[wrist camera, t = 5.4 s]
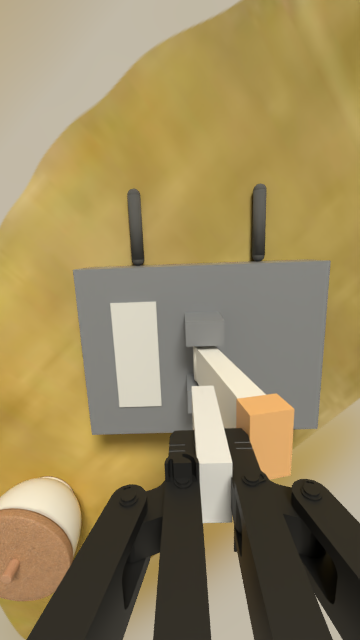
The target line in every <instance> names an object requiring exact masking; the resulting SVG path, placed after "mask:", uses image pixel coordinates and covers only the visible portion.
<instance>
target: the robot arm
mask: <svg viewBox="0 0 360 640" xmlns="http://www.w3.org/2000/svg"><path fill="white" fill-rule="evenodd" d="M192 420H193V430H178V431H174V432H173V433H172V435H171V436H170V443H169V457H168V458H167V459H166V461H165V481H164V482H163V484H162V485H160V486H159V487H157V488H155V489H152V490H149V491H145V490H144V489H143V488H142V487H141V486H138V485H126V486H122V487H121V488H119V489H118V490H116V491H115V492H114V494H113V495H112V496H111V498H110V500H109V501H108V503H107V505H106V506H105V508H104V510H103V511H102V513H101V515H100V516H99V518H98V520H97V522H96V523H95V525H94V527H93V528H92V530H91V532H90V533H89V535H88V537H87V538H86V540H85V542H84V544H83V545H82V547H81V549H80V550H79V552H78V554H77V555H76V557H75V559H74V560H73V562H72V564H71V565H70V567H69V569H68V571H67V572H66V574H65V576H64V577H63V579H62V581H61V582H60V584H59V586H58V587H57V589H56V591H55V593H54V594H53V596H52V598H51V599H50V601H49V603H48V604H47V606H46V608H45V609H44V611H43V613H42V615H41V616H40V618H39V620H38V621H37V623H36V625H35V626H34V628H33V630H32V631H31V633H30V635H29V636H28V638H27V640H123V637H124V634H125V631H126V628H127V625H128V622H129V619H130V616H131V613H132V611H133V607H134V605H135V602H136V599H137V596H138V593H139V590H140V587H141V584H142V582H143V579H144V576H145V573H146V570H147V567H148V564H149V561H150V556H152V555H154V554H157V553H160V560H159V574H158V585H157V599H156V611H155V624H154V637H153V640H211V631H210V617H209V603H208V590H207V575H206V563H205V562H206V561H205V548H204V534H203V523H222V522H223V523H224V522H232V515H233V520H234V551H235V552H237V553H238V557H239V563H240V568H241V573H242V579H243V584H244V588H245V594H246V599H247V604H248V610H249V615H250V620H251V625H252V630H253V635H254V640H333V639H332V637H331V634H330V632H329V629H328V627H327V624H326V622H325V619H324V617H323V614H322V612H321V609H320V607H319V604H318V602H317V599H316V597H317V598H318V600H319V602H320V603H321V605H322V606H323V608H324V610H325V611H326V613H327V615H328V616H329V618H330V620H331V621H332V623H333V624H334V626H335V628H336V629H337V631H338V632H339V634H340V636H341V637H342V639H343V640H360V523H359V522H358V521H357V520H356V519H355V518H354V517H353V516H352V515H351V514H350V513H349V512H348V511H347V509H346V508H345V507H344V506H343V505H342V504H341V503H340V502H339V501H338V500H337V499H336V498H335V497H334V496H333V495H332V494H331V493H330V492H329V490H328V489H326V488H325V487H324V486H323V485H322V484H320V483H318V482H316V481H314V480H308V479H300V480H297V481H295V482H294V483H293V485H292V488H291V487H286V486H282V485H278V484H275V483H274V482H272V481H270V480H269V478H268V477H267V475H266V474H265V473H263V472H262V471H261V469H260V467H259V464H258V461H257V458H256V456H255V453H254V450H253V448H252V445H251V443H250V439H249V437H248V434H247V433H246V432H245V431H244V430H243V429H242V428H224V426H223V422H222V418H221V414H220V410H219V406H218V402H217V398H216V394H215V390H214V386H192ZM315 595H316V596H315Z"/></svg>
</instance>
